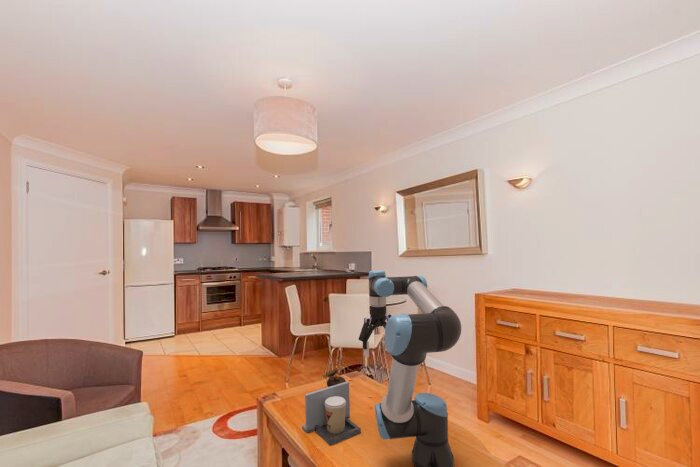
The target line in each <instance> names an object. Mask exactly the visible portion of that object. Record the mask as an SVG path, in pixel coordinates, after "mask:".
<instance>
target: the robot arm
mask: <svg viewBox="0 0 700 467" xmlns="http://www.w3.org/2000/svg"><path fill="white" fill-rule="evenodd" d="M399 295H400V296H402V295H403V296H404V295H406V296H408V297H409V298H410V299H411V300H412V302H413V303H414V304H415V306H416V307H417V309H418V310H419V311H420V312H421V313H410V314H409V313H400V314H394V315H391V314H389V313H387V306H386V305H387V298H388V297H390V296H399ZM368 296H369V297H368V302H369V306H368V308H369V315H370V317H369V318H368V317H364V319H363V324H362V328H361V330H360V334H359V335H358V341H359V342H360V341H361V342H362V349H363V356H364V357H366V358H370V341H369V339H370V337H371V336H372V334H373V332H374V330H375V329H377V328H379V327H383V329H384V345H385V349H386V351H387V353H388V354H389V355H390V357H391V359H392V360H391V365H390V372H389V377H388V378H389V380H388V384H387V392H386V394H385V395H384V396H383V398H382V399H381V402H378V403H376V404H375V405H374V410H375V412H374V413H375V419H376V424H377V429H378V434H379V437H380V438H381V439H382V440H391V441H392V440H395V439H396V440H397V439H406V438H412V437H413V438H415V439H414V442H413V447H412V450H411V463H412V464H413V466H414V467H454V466H455V461H454V454H453V452H452V450H451V446H450V443H449V426H448V425H449V422H448V421H449V420H448V419H449V413H448V407H447V402H446V401H445V399H444V398H442V397H441V396H438V395H435V394H433V393H429V392H419V393H416V394H415V395H414V392H415V386H416V381H417V376H418V373H419V372H418V371H419V368H420V365H422V364H423V363H424V362H425V360H426V358H427V354H428V353H431V354H432V353H441V352H442V353H443V352H446V351H448V350H450V349H452V348H453V347H454V346H456V344H457V343H458V341H459V340H460V338H461V334H462V322H461V319H460V317H459V316H458V315H457V313H456V312H455V311H454V310H453V309H452V308H451V307H449V306H447V305H444V304H443V303H442V302H441V301H440V300H439V298H437V297H436V296H435V294H433V293H432V291H431V290H429V289H428V282H427V279H426V277H424V276H421V275H412V276H411V275H410V276H409V275H408V276H386V271H384V270H379V269H378V270H370V271H369V272H368ZM413 396H414V399H413ZM412 399H413V400H412Z"/></svg>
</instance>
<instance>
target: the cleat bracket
mask: <svg viewBox="0 0 700 467" xmlns="http://www.w3.org/2000/svg"><path fill="white" fill-rule="evenodd" d="M361 431H362V430H361V427H359V425H357V424H356V423H354V422H353V421H352V420H351V419H350V418H346V417H345V429H344V431H342V432H341V433H337V434H333V433H330V432H328V431H327V425H325V426H323V427H320V426H318V425H315V433H317V435H318V436H319V437H320V438H322V439H323V440H324V441H325V442H326V443H327V444H328V445H329V446H333V445H336V444H338V443H341V442H343V441H345V440H348V439H350V438H352V437H355V436H357V435H359V434H361V433H362V432H361Z"/></svg>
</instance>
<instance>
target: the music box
mask: <svg viewBox="0 0 700 467" xmlns="http://www.w3.org/2000/svg"><path fill="white" fill-rule="evenodd" d="M336 374H337V375H336ZM321 377H323V378H327V379H326V387H330V386H334V385H337V384H340V383H344V382H347V380H346V379H345V378H344V377H343V376H340V375H339V369H338V368H337V367H334V368H333V369H332V370H329V371H328V372H326V373H325V374H322V375H321Z"/></svg>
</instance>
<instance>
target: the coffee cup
mask: <svg viewBox="0 0 700 467" xmlns="http://www.w3.org/2000/svg"><path fill="white" fill-rule="evenodd" d="M345 409H346V401H345V399H344V398H343V397H339V396H333V397H329V398H327V399H326V400H325V413H326V424H327V431H328V432H330V433H333V434H337V433H341V432H342V431H344V429H345Z"/></svg>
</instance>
